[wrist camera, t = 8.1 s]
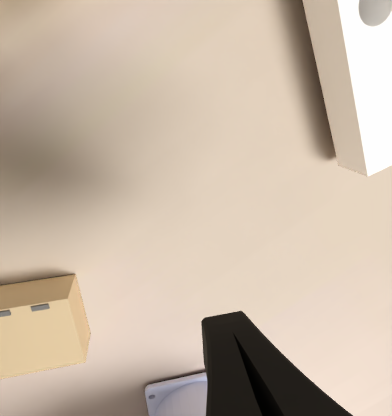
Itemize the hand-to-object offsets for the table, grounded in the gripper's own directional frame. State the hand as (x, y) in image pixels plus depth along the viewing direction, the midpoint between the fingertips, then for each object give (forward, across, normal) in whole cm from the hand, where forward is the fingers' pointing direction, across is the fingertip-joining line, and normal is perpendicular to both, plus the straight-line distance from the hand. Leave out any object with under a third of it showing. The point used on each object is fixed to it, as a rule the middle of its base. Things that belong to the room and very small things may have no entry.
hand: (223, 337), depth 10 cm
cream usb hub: (+10, +12, +6) cm, 17 cm away
